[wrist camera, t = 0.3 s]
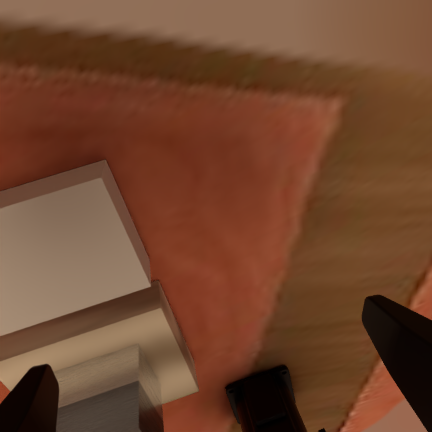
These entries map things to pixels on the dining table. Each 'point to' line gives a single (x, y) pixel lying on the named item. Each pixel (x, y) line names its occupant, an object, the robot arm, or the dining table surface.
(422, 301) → the dining table surface
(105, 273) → the stand
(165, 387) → the stand
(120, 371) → the housing
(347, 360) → the dining table surface
